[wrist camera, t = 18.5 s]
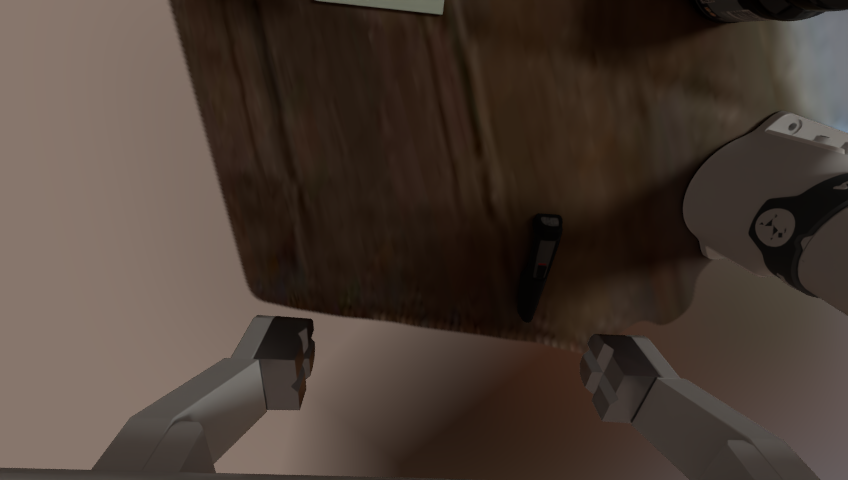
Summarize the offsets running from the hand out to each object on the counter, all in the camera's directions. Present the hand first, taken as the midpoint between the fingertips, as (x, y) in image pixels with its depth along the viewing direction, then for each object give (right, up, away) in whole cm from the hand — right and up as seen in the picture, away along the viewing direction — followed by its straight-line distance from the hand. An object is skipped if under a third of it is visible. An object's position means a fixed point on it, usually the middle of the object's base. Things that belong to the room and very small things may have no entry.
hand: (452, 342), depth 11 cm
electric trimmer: (+14, 0, +40) cm, 42 cm away
